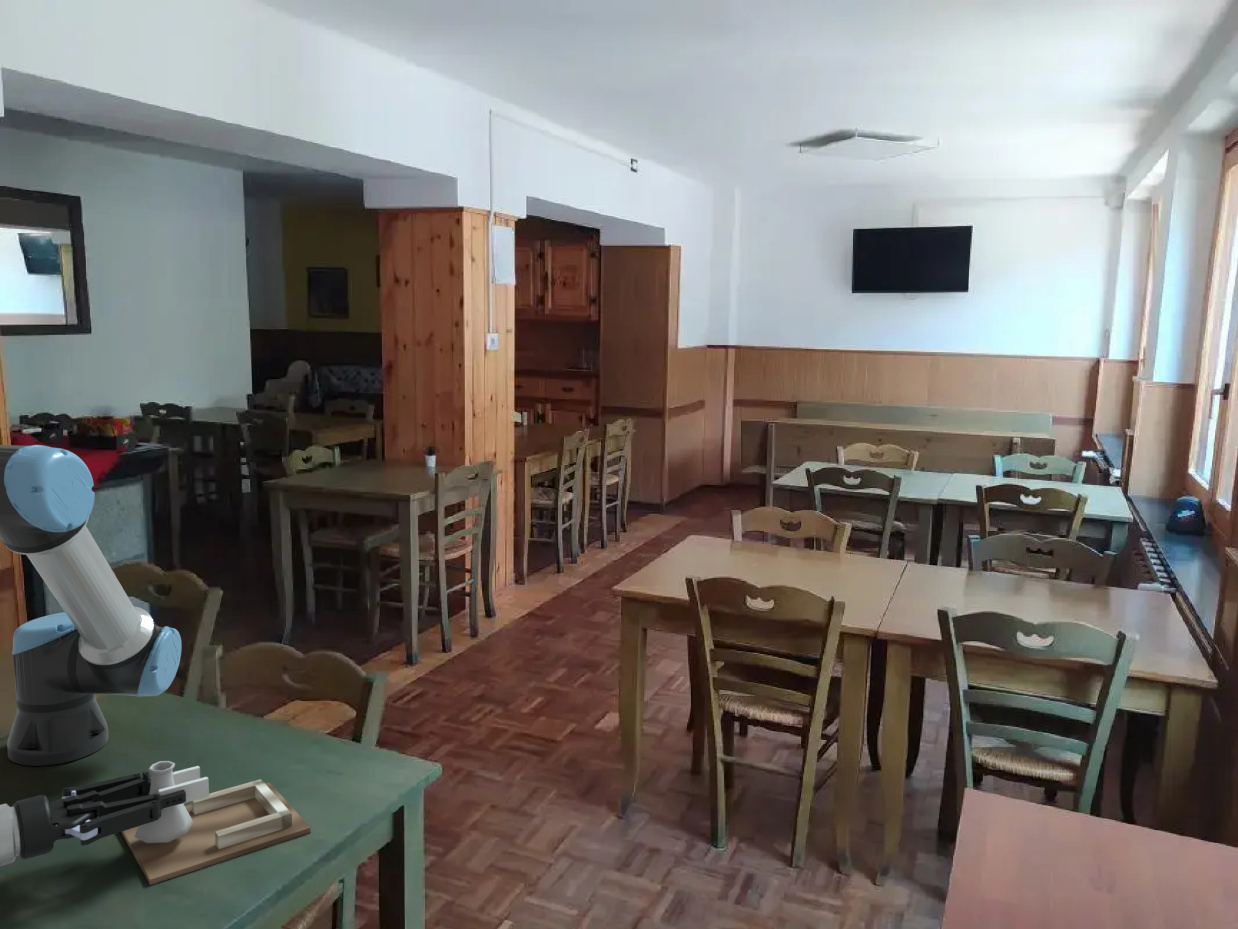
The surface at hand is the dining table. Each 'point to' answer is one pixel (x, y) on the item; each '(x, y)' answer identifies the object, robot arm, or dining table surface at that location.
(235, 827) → the nook board
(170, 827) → the flask
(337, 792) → the dining table surface
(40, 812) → the robot arm
